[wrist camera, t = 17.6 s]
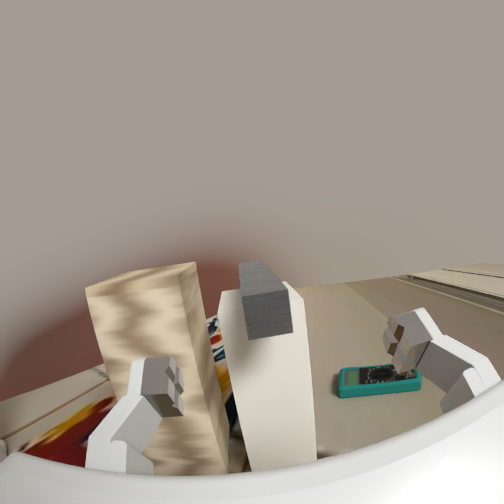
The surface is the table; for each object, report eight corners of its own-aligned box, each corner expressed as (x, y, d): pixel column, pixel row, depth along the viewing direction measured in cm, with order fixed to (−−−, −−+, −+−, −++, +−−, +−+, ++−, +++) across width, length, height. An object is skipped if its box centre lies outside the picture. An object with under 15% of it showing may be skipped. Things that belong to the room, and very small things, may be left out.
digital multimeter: (423, 392, 38) (425, 377, 38) (337, 400, 43) (336, 386, 43) (416, 371, 45) (417, 357, 45) (339, 379, 50) (339, 365, 50)
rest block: (252, 475, 28) (217, 313, 27) (249, 430, 38) (222, 291, 37) (316, 463, 29) (303, 299, 27) (301, 421, 39) (285, 281, 37)
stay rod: (248, 340, 19) (241, 296, 19) (241, 285, 39) (238, 263, 39) (293, 332, 19) (288, 289, 19) (264, 282, 39) (261, 259, 39)
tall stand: (153, 478, 28) (84, 288, 26) (168, 429, 40) (125, 272, 38) (228, 477, 28) (177, 275, 26) (229, 425, 40) (195, 261, 38)
